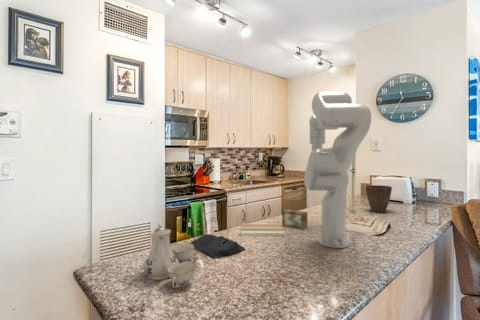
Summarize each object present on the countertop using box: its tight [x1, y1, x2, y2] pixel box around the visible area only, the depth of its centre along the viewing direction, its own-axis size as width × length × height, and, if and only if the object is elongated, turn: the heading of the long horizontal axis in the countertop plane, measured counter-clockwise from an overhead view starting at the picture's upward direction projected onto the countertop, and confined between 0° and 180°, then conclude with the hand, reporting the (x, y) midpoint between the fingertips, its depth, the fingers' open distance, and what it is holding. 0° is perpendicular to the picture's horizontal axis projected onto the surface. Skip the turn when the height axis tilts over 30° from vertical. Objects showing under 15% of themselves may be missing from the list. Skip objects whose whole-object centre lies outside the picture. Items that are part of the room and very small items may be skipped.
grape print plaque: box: [346, 214, 392, 236], centre depth 146 cm, size 28×6×30 cm
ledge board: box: [240, 223, 286, 237], centre depth 134 cm, size 20×12×3 cm, turn 88°
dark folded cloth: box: [188, 233, 246, 260], centre depth 113 cm, size 15×22×5 cm
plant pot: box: [365, 184, 393, 214], centre depth 177 cm, size 15×15×16 cm
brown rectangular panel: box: [281, 209, 308, 230], centre depth 144 cm, size 12×4×8 cm, turn 53°
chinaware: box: [142, 222, 198, 289], centre depth 90 cm, size 28×17×17 cm, turn 16°
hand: (317, 174), depth 143 cm, fingers open, 9 cm apart
